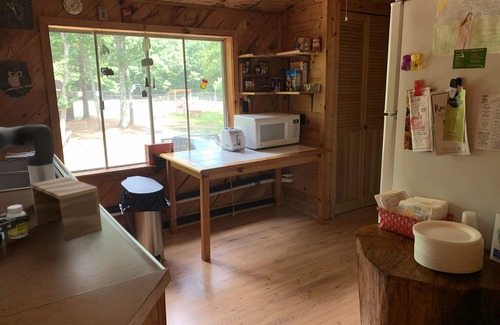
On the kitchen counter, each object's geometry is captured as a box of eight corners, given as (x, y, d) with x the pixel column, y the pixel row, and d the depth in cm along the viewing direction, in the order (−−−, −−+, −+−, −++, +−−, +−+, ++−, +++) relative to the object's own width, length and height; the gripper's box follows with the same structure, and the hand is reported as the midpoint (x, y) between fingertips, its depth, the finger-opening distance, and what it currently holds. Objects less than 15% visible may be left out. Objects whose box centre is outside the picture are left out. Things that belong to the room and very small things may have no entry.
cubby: (37, 224, 128) (30, 183, 124) (70, 215, 137) (65, 176, 134) (66, 241, 114) (60, 196, 110) (102, 229, 123) (97, 187, 119)
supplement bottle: (19, 239, 111) (14, 210, 109) (4, 238, 112) (-1, 208, 110) (32, 232, 116) (28, 204, 114) (18, 231, 118) (14, 203, 116)
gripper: (-36, 225, 97) (32, 209, 110) (-49, 214, 106) (15, 200, 119) (-31, 251, 99) (35, 232, 112) (-45, 237, 108) (18, 221, 120)
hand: (25, 215), depth 115 cm, fingers closed on supplement bottle, 5 cm apart
